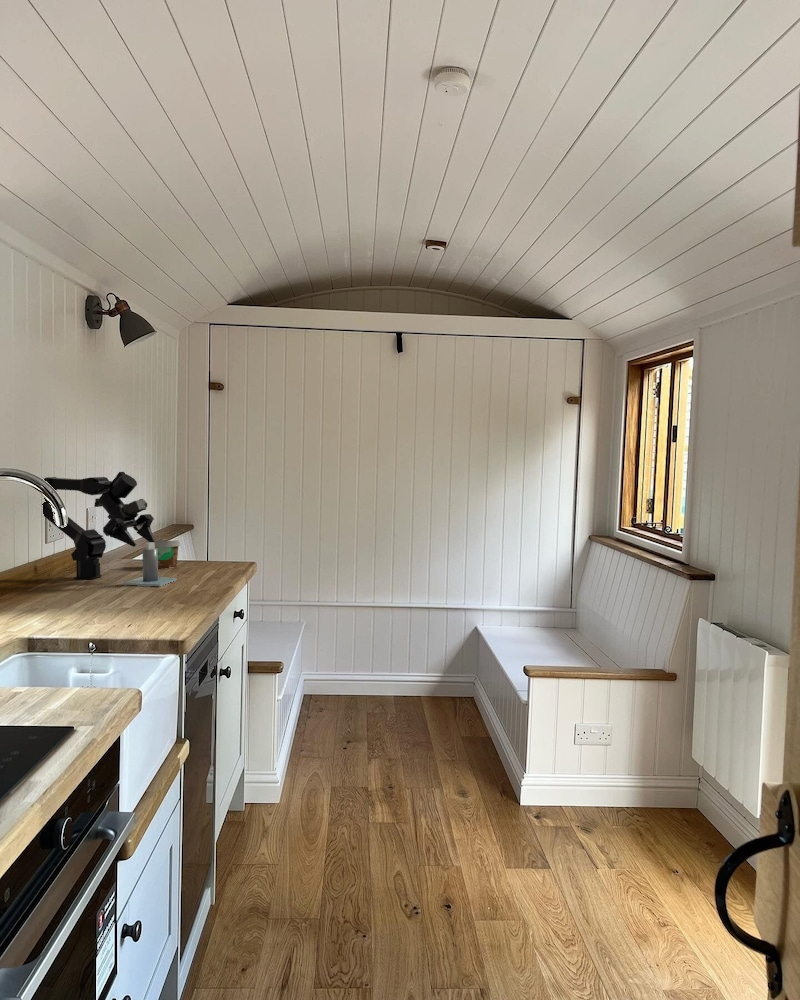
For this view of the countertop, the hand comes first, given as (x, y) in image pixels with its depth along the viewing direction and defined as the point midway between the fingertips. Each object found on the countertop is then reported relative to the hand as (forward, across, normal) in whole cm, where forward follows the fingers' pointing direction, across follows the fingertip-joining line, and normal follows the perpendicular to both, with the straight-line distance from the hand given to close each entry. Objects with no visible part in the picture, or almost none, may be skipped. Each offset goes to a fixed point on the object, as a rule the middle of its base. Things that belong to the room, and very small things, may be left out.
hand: (144, 544), depth 246 cm
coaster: (+10, 0, +7) cm, 12 cm away
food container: (-1, +27, +18) cm, 32 cm away
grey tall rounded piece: (+10, 0, +6) cm, 12 cm away
